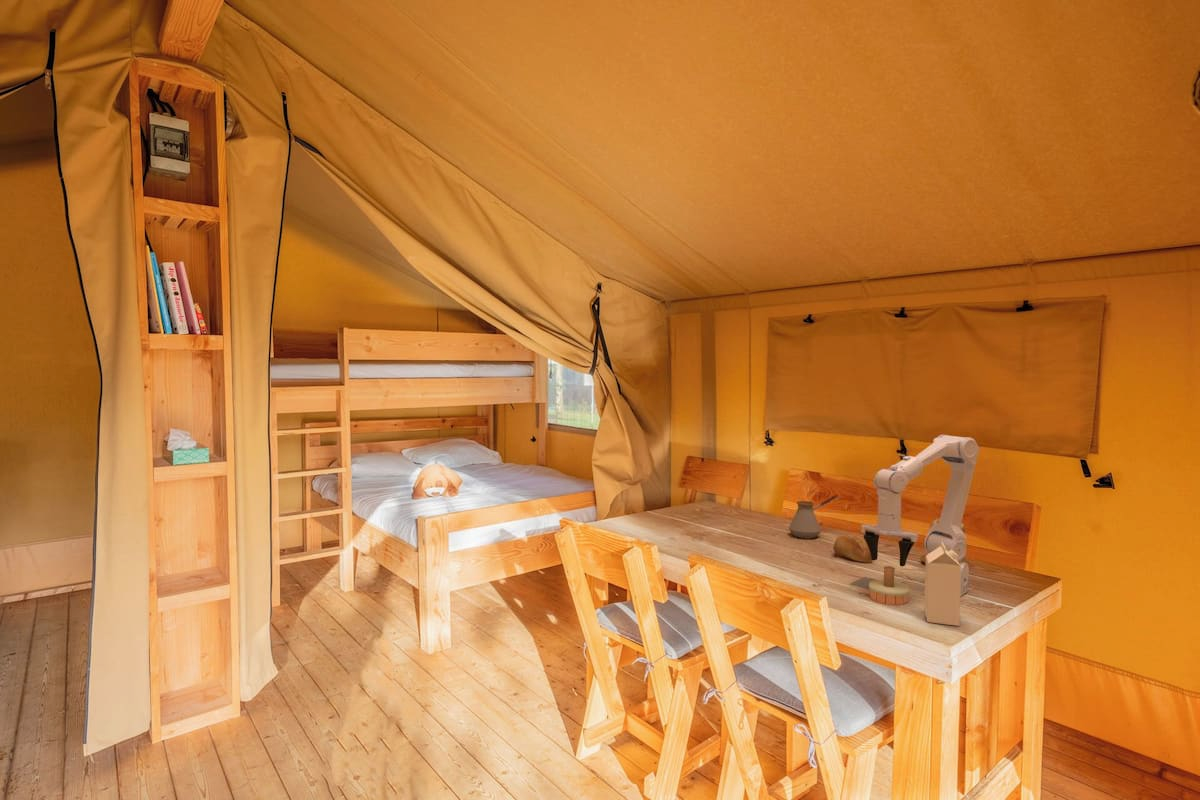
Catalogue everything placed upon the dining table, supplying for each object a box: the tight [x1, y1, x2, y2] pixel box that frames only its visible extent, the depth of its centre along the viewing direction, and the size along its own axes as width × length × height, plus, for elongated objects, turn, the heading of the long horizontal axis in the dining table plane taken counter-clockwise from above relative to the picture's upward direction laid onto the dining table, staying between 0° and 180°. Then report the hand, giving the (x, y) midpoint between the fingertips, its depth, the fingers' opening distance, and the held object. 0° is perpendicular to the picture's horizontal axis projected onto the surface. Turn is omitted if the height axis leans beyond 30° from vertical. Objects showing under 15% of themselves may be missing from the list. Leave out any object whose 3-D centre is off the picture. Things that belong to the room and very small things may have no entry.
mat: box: [849, 576, 878, 590], centre depth 191 cm, size 10×10×1 cm
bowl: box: [869, 589, 908, 606], centre depth 179 cm, size 9×9×3 cm
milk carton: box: [923, 542, 961, 627], centre depth 165 cm, size 7×7×19 cm
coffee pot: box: [788, 494, 841, 540], centre depth 249 cm, size 21×12×15 cm, turn 110°
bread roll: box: [832, 534, 873, 564], centre depth 218 cm, size 10×15×8 cm, turn 23°
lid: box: [869, 565, 910, 596], centre depth 179 cm, size 10×10×6 cm
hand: (888, 562), depth 180 cm, fingers open, 7 cm apart
